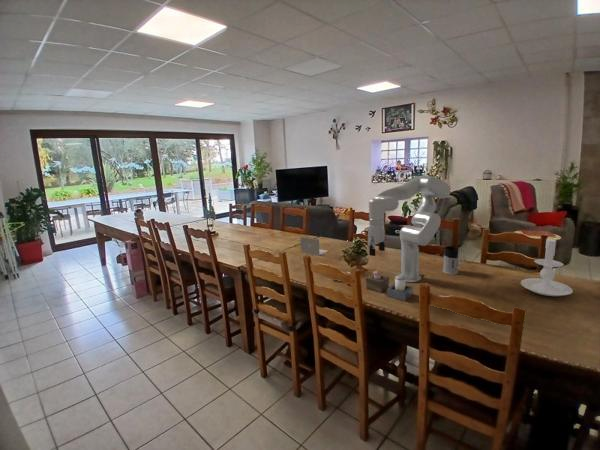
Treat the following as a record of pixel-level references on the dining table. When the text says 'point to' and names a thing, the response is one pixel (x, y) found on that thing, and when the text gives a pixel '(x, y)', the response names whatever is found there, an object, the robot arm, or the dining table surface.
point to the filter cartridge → (400, 283)
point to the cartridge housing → (400, 292)
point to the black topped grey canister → (451, 260)
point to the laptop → (311, 246)
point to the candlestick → (547, 275)
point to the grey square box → (377, 283)
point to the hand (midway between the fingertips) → (377, 253)
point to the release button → (377, 275)
